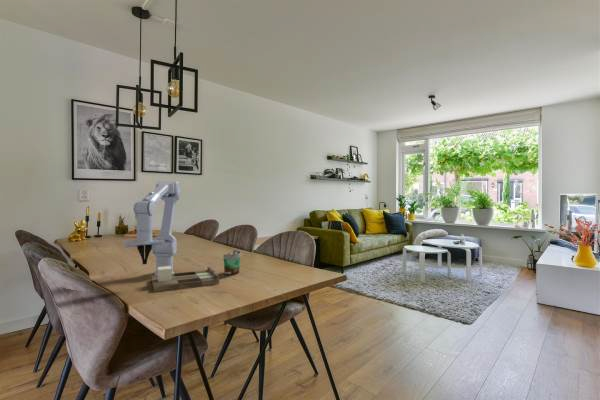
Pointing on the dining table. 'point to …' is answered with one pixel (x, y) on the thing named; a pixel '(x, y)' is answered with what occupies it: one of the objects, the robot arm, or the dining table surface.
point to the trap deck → (186, 280)
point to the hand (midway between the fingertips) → (144, 263)
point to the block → (164, 273)
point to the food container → (232, 263)
